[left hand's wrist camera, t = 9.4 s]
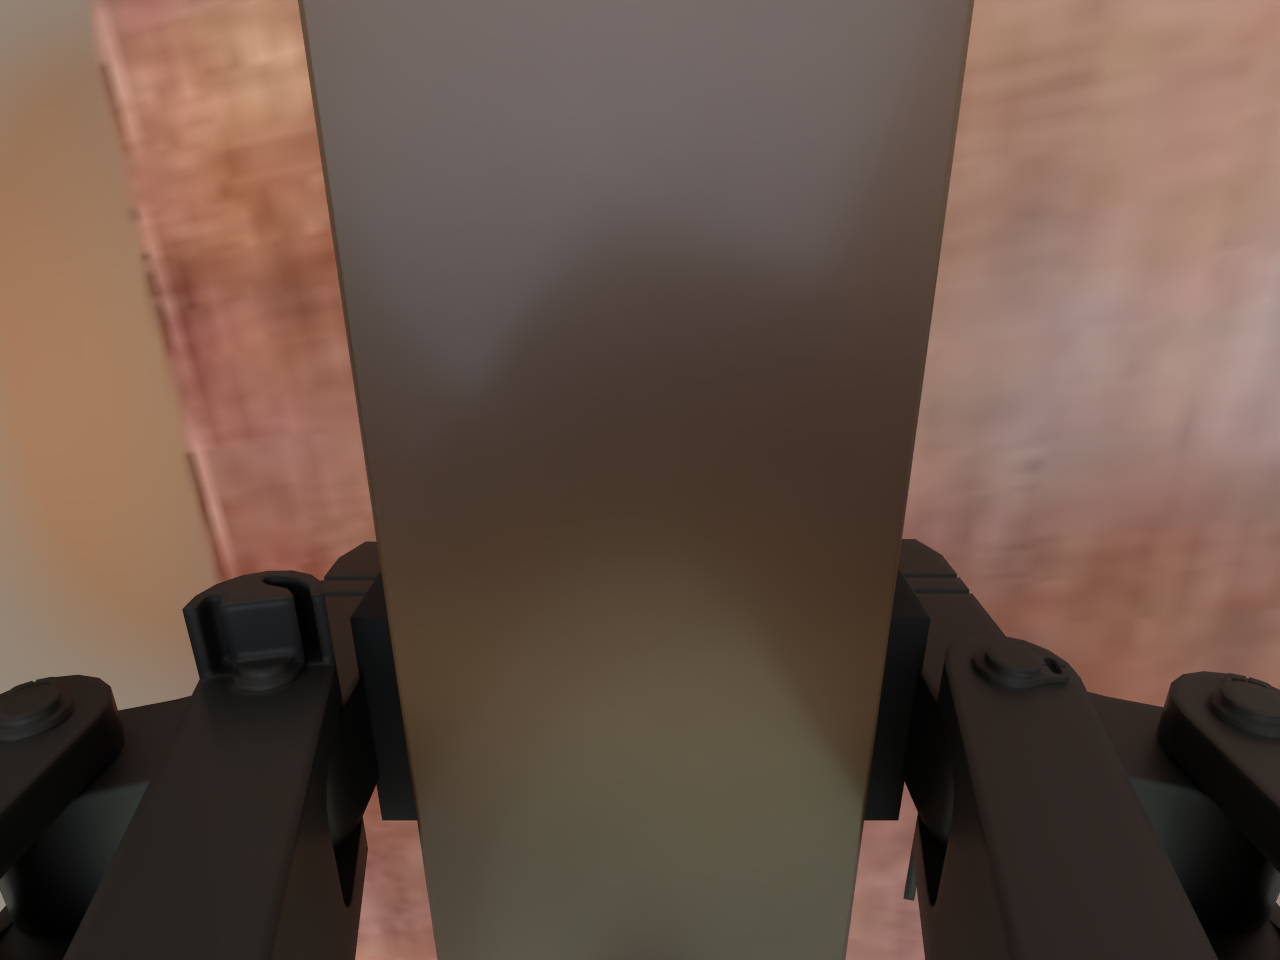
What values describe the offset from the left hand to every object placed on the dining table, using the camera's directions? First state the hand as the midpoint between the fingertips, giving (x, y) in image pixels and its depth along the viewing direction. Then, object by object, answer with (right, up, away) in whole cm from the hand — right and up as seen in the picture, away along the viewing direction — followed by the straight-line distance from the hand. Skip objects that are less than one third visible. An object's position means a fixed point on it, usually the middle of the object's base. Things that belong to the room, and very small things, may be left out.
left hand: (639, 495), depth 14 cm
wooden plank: (0, -20, +9) cm, 22 cm away
